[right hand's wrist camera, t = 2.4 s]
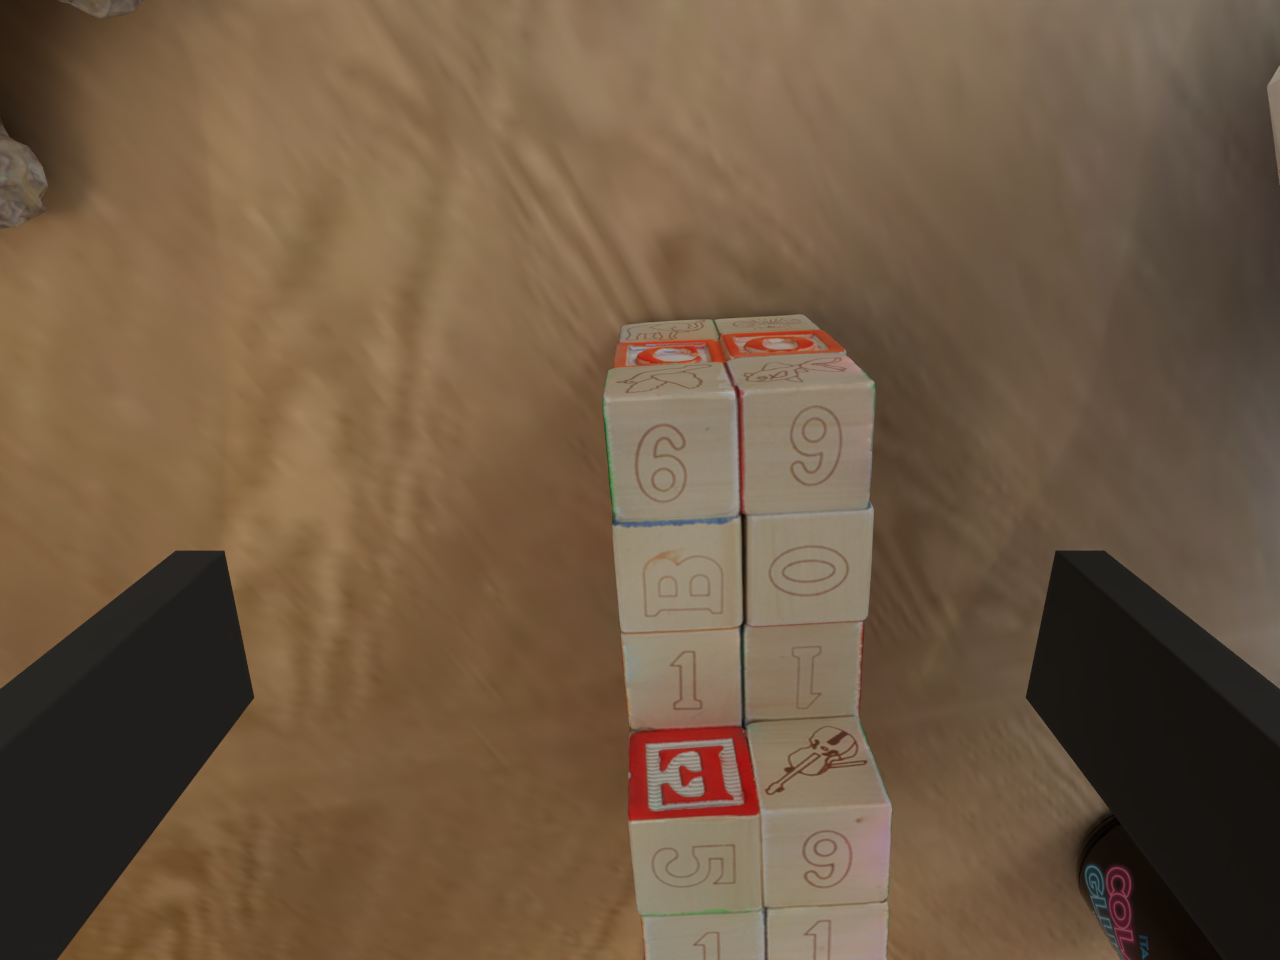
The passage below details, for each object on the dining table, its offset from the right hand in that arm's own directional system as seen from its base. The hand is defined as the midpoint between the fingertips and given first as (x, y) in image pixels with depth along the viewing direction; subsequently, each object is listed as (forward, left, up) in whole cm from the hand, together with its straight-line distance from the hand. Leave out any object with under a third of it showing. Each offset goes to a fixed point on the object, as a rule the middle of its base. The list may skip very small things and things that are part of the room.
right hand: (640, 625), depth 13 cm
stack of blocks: (0, +9, -15) cm, 17 cm away
